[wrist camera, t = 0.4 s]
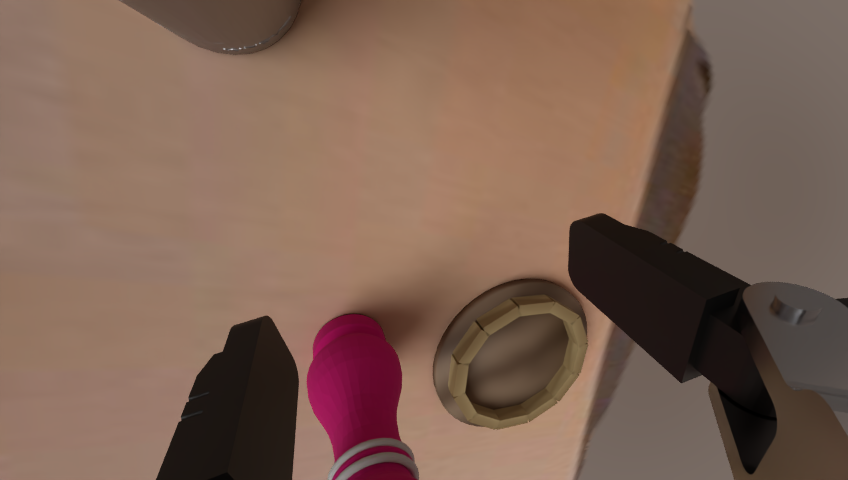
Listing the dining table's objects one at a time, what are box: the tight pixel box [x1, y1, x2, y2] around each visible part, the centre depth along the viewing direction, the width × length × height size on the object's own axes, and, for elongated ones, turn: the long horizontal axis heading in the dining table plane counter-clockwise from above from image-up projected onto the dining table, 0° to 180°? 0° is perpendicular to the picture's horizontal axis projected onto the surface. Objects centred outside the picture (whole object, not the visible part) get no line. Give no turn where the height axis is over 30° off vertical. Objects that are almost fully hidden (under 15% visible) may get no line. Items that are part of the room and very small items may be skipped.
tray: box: [433, 279, 588, 430], centre depth 36 cm, size 18×18×2 cm
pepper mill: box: [307, 314, 419, 480], centre depth 22 cm, size 7×7×20 cm
